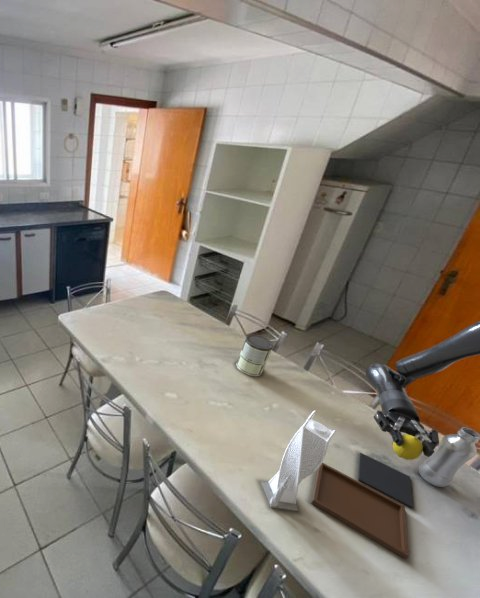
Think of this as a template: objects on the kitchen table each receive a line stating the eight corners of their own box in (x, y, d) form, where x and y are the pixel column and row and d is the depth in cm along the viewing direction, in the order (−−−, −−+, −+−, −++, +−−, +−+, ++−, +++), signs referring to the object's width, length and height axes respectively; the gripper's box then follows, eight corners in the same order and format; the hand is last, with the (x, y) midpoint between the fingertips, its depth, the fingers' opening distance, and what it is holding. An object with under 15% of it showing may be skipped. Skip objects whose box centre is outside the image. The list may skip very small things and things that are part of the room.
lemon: (388, 444, 95) (403, 425, 91) (413, 458, 92) (430, 438, 88) (385, 455, 92) (400, 436, 88) (411, 469, 88) (428, 450, 84)
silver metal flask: (439, 493, 94) (483, 446, 85) (410, 473, 99) (449, 426, 90) (449, 485, 96) (494, 439, 87) (421, 466, 102) (460, 420, 93)
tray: (401, 509, 89) (404, 505, 88) (405, 559, 78) (408, 556, 77) (318, 464, 100) (320, 461, 99) (311, 503, 89) (313, 499, 88)
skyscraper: (258, 477, 94) (295, 406, 81) (287, 481, 94) (329, 411, 81) (270, 507, 87) (313, 434, 74) (302, 512, 86) (350, 439, 73)
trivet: (408, 477, 98) (409, 476, 98) (411, 508, 89) (413, 507, 89) (359, 453, 104) (360, 452, 104) (358, 480, 96) (359, 478, 96)
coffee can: (233, 359, 145) (243, 332, 138) (257, 363, 143) (268, 336, 137) (239, 374, 136) (249, 346, 129) (265, 378, 134) (277, 350, 128)
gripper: (374, 389, 101) (388, 427, 88) (435, 409, 95) (459, 452, 82) (363, 407, 105) (374, 445, 91) (421, 427, 99) (442, 471, 85)
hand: (414, 448), depth 87 cm, fingers closed on lemon, 5 cm apart
